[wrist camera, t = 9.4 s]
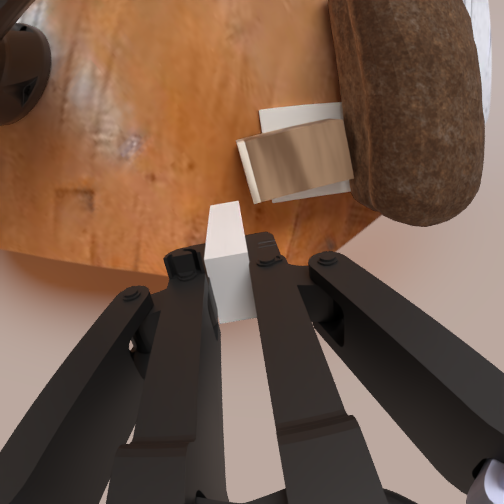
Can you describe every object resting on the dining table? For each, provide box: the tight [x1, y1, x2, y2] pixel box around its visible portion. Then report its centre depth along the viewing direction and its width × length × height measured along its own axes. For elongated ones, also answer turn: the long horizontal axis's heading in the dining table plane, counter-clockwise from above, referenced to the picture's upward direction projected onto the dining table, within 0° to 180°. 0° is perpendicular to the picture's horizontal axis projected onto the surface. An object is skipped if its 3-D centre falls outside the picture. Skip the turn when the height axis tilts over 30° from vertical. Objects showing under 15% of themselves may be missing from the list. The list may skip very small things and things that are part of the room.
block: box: [236, 118, 354, 204], centre depth 37 cm, size 5×7×12 cm
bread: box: [328, 0, 485, 227], centre depth 28 cm, size 15×32×16 cm, turn 8°
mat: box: [259, 102, 351, 203], centre depth 39 cm, size 16×12×1 cm
